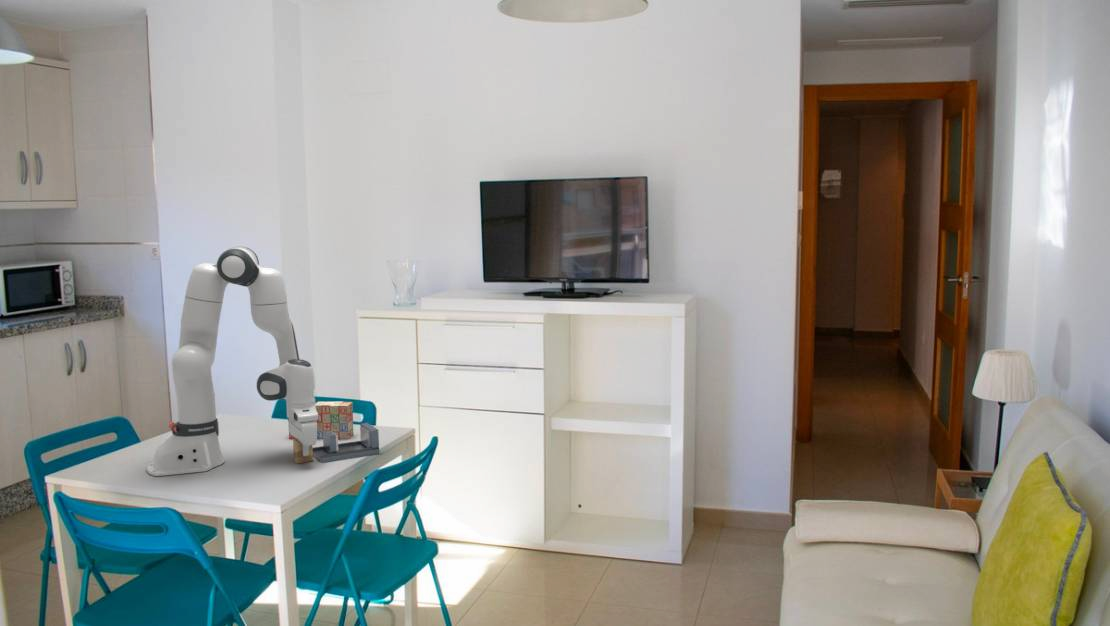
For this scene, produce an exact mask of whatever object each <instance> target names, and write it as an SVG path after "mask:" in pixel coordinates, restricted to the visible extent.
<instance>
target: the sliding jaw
mask: <svg viewBox="0 0 1110 626" xmlns="http://www.w3.org/2000/svg"><path fill="white" fill-rule="evenodd" d="M322 443H323V446H324V450H326V451H327V452H328V453H337V452H338V444H339V440H338V436H337V435H336V434H334V433H333V432H332V431H329V430H325V431H323V439H322Z"/></svg>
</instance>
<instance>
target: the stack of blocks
mask: <svg viewBox="0 0 1110 626" xmlns="http://www.w3.org/2000/svg"><path fill="white" fill-rule="evenodd" d="M315 406H316V411H317V413H318V420H316V422H317V440H323V431H325V430H329V431H332V432H333V433H334V434H336V435H337V436H338V441H346V440H348V439H349V440H350V439H351V438H352V437H354V412H353V411H354V409H353V402H352V401H317V402H315ZM287 421H288V423H289V418H288V417H287ZM288 438H289V440H293V439H295V437H294V436H293V435H292V434H290V431H289V430H288ZM349 440H348V441H349Z"/></svg>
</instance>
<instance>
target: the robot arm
mask: <svg viewBox="0 0 1110 626" xmlns="http://www.w3.org/2000/svg"><path fill="white" fill-rule="evenodd" d="M258 257H259V256H257V254H256V253H255V252H254V250H252V249H250V248H249V247H246V246H232V247H230V248H228V249H227V250H225V251H223V252H222V253H221V254H220V255H219V257H218V259H217V261H216V263H210V262H204V263H199V264H197V265H195V266H194V268H193V269H192V271H191V273H190V276H189V279H188V282H187V285H186V289H185V295H184V300H183V306H182V313H181V317H180V318H181V319H180V334H179V342H178V347H177V349H176V351H175V352H174V354H173V356H172V358H171V371H172V379H173V384H174V389H175V394H176V402H177V403H176V404H177V418H178V419H177V420H178V421H176V422H174V421H171V422H169V424H168V428H169V429H170V430H171V433H172V434H171V436H169V437H168V438H167V439H166V440H165V441H164V442H162V443H161V444H160V445H158V447H157V448H156V450H155V452H154V458H153V461H152V462H150V463H149V464H147V467H146V472H147V473H148V474H149V475H150V476H153V477H161V476H171V475H181V474H191V473H201V472H202V473H203V472H208V471H210V470H211V469H213V468H216V467H219V466H220V465H222V464H224V463H225V459H224V456H223V454H222V450H221V446H220V441H219V435H220V426H219V425H220V424H219V419H218V418H217V411H216V408H217V407H216V395H215V391H214V384H213V377H212V366H213V364H214V362H215V358H216V350H217V343H218V342H217V340H218V334H219V325H220V318H221V315H222V314H221V312H222V310H223V309H222V307H223V302H224V295H225V293H226V292H225V291H226V289H227V286H228V285H229V284H233V285H238V286H241V287H247V289H248V292H249V293H248V294H249V302H250V314H251V319H252V321H253V324H254V325H255V326H256V327H257V328H258V329H259V330H261V331H263V332H265V333H268V334H270V335H271V336H272V337H273V339H274V340H275V343H276V349H277V354H278V361H279V365H278V367H276V368H272V369H269V370H266V371H264V372H263V373H261V374H260V375H259V376H258V378H257V380H256V391H257V393H258V394H259V396H260V398H262V399H264V400H266V401H270V402H271V401H278V400H281V399H282V400H283V399H284V400H285V402H286V404H285V405H286V417H287V419H288V418H289V422H288V432H289V431H290V434H292V435H293V436H294V437H295V438H296V439H297V440H299V441H300V442H301V443H302V455H303V456H308V455H309V447H310V446H311V445H312V446H315V445H317V441H318V439H317V422H316V420H318V413H317V411H316V406H315V404H316V397H315V394H314V393H315V392H314V391H315V388H316V387H315V384H316V383H315V375H314V374H315V373H314V369H313V365H312V364H311V363H310V362H309V361H308V360H304V359H301V358H300V356H299V350H298V344H297V343H298V342H297V338H296V333H295V329H294V324H293V323H292V320H291V318H290V314H289V309H288V298H287V291H286V290H287V289H286V286H285V282H284V281H285V280H284V278H283V274H282V273H281V272H280V271H279V270H278V269H276V268H272V267H264V266H260V262H259V258H258Z"/></svg>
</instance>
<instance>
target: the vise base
mask: <svg viewBox="0 0 1110 626" xmlns="http://www.w3.org/2000/svg"><path fill="white" fill-rule="evenodd" d="M359 430H360V431H359V433H360V436H359V437H360V440H356V441H348V442H342V443H338V452H337V453H328V452H327V451H326V450H324V446H322V445H321V446H316V447H312V448H313V458H315V459H316V460H318V461H319V462H320V463H329V462H335V461H341V460H342V459H343V460H348V458H349V459H355V458H360V457H367V456H373V455H379V454H380V440H379V439H380V437H379V429H378V428H377V427H375V426H374V425H372V424H370V423H368V422H363V423H360V425H359ZM343 460H342V461H343Z"/></svg>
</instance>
